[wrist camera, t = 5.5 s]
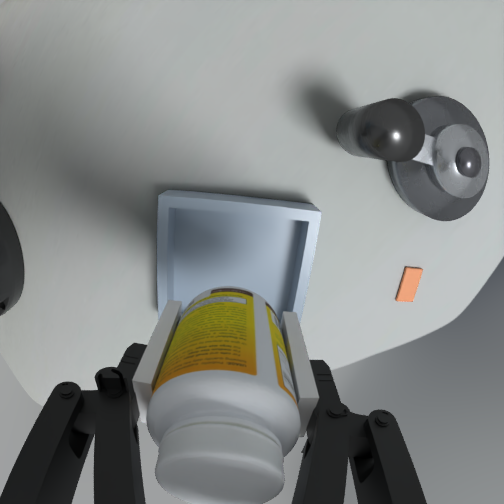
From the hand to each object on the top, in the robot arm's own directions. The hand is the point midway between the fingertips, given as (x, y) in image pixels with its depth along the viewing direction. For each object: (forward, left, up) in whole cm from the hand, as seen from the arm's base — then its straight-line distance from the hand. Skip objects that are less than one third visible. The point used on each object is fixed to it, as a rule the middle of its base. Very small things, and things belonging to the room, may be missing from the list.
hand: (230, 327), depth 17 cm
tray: (0, 0, -9) cm, 9 cm away
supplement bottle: (0, 0, 0) cm, 0 cm away
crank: (+13, +12, -7) cm, 19 cm away
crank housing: (+17, +12, -9) cm, 23 cm away
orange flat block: (+17, 0, -9) cm, 19 cm away
